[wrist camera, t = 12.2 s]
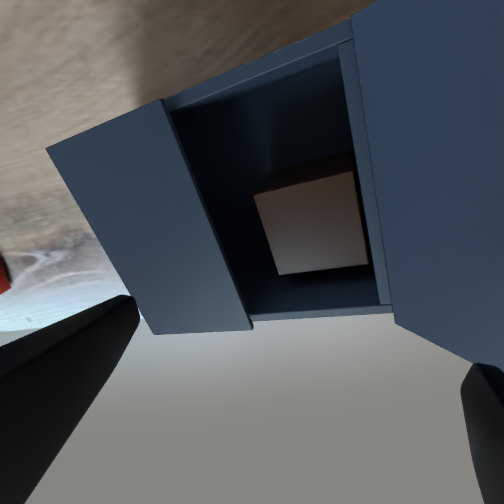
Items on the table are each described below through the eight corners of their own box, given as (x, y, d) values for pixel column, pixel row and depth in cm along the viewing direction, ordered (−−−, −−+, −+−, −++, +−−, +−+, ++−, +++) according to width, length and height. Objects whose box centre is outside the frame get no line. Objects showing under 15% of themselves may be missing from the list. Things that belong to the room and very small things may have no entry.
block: (364, 225, 18) (369, 264, 14) (291, 237, 19) (278, 275, 16) (352, 149, 16) (353, 170, 12) (272, 170, 17) (252, 195, 14)
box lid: (349, 15, 8) (357, 13, 8) (394, 323, 12) (399, 320, 12) (888, -311, 3) (892, -306, 3) (629, 443, 7) (635, 435, 7)
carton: (350, 42, 14) (351, 13, 8) (380, 245, 18) (395, 324, 12) (139, 126, 19) (42, 147, 13) (203, 270, 23) (152, 336, 17)
